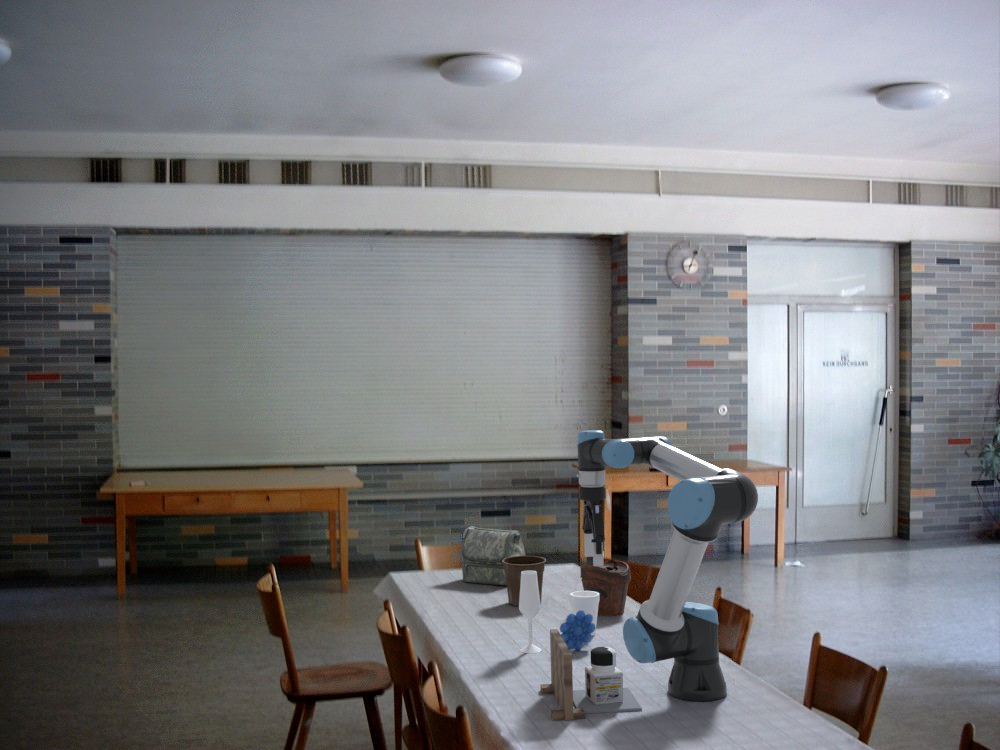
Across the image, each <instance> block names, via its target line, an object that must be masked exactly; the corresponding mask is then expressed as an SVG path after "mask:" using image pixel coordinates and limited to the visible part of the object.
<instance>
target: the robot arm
mask: <svg viewBox="0 0 1000 750" xmlns="http://www.w3.org/2000/svg"><path fill="white" fill-rule="evenodd" d="M576 446H577V463H578V464H577V465H578V468H577V469H578V473H577V474H576V478H578V485H580V486H579V487H578V499H579V500H581V501H583V517H582V528H581V529H582V530H583V536H584V537H583V538H584V539H583V541H584V544H583V547H584V548H583V549H584V558H587V557H588V558H590V557H592V562H593V563H592V564H593V566H604V563H605V562H604V542H605V539H606V538H605V529H604V521H603V520H604V519H603V514H602V513H603V511H602V509H603V507H602V505H599V501H604V500H606V496H607V495H606V494H607V492H606V489H607V488H606V486H605V485H606V467H608V468H613V469H624V468H627V467H629V466H630V467H631V466H641V465H643V466H644V465H647V466H649V467H651V468H653V469H656V470H657V471H660V472H662V473H663V474H666V475H668V476H669V477H672V478H674V479H676V480H677V481H678V482H677V483H676V484H675V485H673V487H672V488H671V489H670V492H669V495H668V498H667V506H668V509H667V513H668V516H669V519H670V521H671V522H670V523H671V526H672V527H673V529H674V530H673V533H672V536H671V539H670V540H669V544H668V547H667V550H666V552H665V555H664V558H663V561H662V563H661V567H660V568H659V572H658V574H657V578H656V580H655V582H654V586H653V588H652V590H651V594H650V597H649V599H647V600H645V601H643V602H642V603H641V605H640V607H639V610H638V612H637V615H636V616H631V617H629V618H627V619H626V620H625V621H624V623H623V627H622V637H623V641H624V645H625V647H626V650H627V652H628V653H629V655H630V657H631V658H632V659H633V660H634V661H635V662H637V663H639V664H649V663H650V664H654V663H658V662H661V661H666V660H671V659H673V665H672V667H671V672H670V675H669V677H668V681H667V682H668V683H667V693H668V694H670V695H671V696H673V697H675V698H678V699H682V700H685V701H694V702H710V701H715V700H721V699H722V698H724V697H726V695H727V690H728V689H727V682H726V680H725V677H724V676H725V675H724V674H723V671H722V668H721V665H720V649H719V648H720V647H719V646H720V644H719V643H720V642H719V637H720V636H719V630H720V629H719V627H720V623H719V616H718V611H717V610H716V608H715V607H713V606H711V605H709V604H706V603H705V604H704V603H698V602H691V601H687V600H688V597H689V596H690V595H689V594H690V592H691V590H692V587H693V584H694V582H695V579H696V576H697V574H698V572H699V568H700V567H701V566H700V565H701V564H702V561H703V558H704V556H705V553H706V550H707V547H708V546H709V543H712V542H715V541H716V540H717V539H718V537H719V534H720V532H721V529H722V527H723V525H727V524H728V525H729V524H734V523H735V524H736V523H740V522H744V520H747V519H748V518H749V517H751V516H752V515H753V514H754V512H755V511H756V508H757V506H758V501H759V493H758V489H757V486H756V484H755V483H754V482H753V481H752V480H751V479H750V478H749V477H748V476H747V475H746V474H743V473H741V472H739V471H737V470H735V469H732V468H720V467H718V466H717V465H714V464H712V463H710V462H707V461H705V460H703V459H701V458H699V457H696V456H695V455H692V454H689V453H687V452H685V451H683V450H681V449H679V448H678V447H677V448H676V447H675V446H673V445H672V442H670V439H668V438H667V437H665V436H658V435H652V436H643V437H631V438H614V439H613V438H610V439H609V438H605V432H604V431H602V430H598V429H597V430H595V429H594V430H592V429H591V430H589V429H588V430H581V431H579V432H578V435H577V445H576Z"/></svg>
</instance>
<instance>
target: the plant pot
mask: <svg viewBox="0 0 1000 750" xmlns="http://www.w3.org/2000/svg"><path fill="white" fill-rule="evenodd" d="M502 562H503V563H504V571H505V573H506V582H507V586H506V588H507V600H508V604H509V605H511V606H514V607H519V598H520V583H521V572H522V571H528V570H531V571H536V572H537V580H538V588H539V597H540V605H541V604H542V599H543V598H542V596H543V583H544V582H543V580H544V572H545V566H546V565H545V564H546V562H547V559H546V558H544V557H543V556H542V557H541V556H536V555H526V556H513V557H508V558H505V559H503V560H502Z"/></svg>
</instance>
